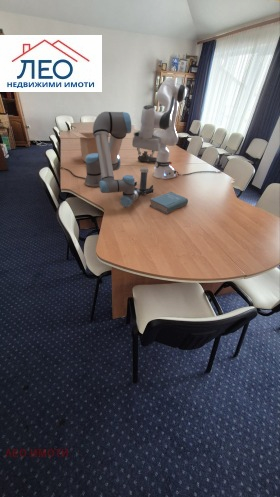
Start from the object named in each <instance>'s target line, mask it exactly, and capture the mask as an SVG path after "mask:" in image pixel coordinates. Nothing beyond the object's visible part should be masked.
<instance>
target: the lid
mask: <svg viewBox="0 0 280 497" xmlns="http://www.w3.org/2000/svg"><path fill="white" fill-rule="evenodd" d="M139 169H140V170H139V172H140V173H141V172H144V173H146V172H147V173H149V167H146V166H141V167H140V168H139Z"/></svg>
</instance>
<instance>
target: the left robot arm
mask: <svg viewBox="0 0 280 497" xmlns="http://www.w3.org/2000/svg"><path fill="white" fill-rule="evenodd" d="M92 130H93V135H94V138H96V144H97V150H98V153H92V154H89V155H87V156H86V162H85V168H86V169H85V170H86V177H84V176H83V177H82V176H78V175H75V174H74V173H73V172H72V171H71V170H70V169H68V168H66V167H64V166H63V167H62V166H61V167H60V169H61V170H62V169H64V170H66V171H69V173H70V174H71V175H72V176H73V177H75V178H79V179H83V180H84V185H85V186H87V187H90V188H99V191H100V193H101V194H112V193H122V196H121V198H120V200H119V202H120V206H122V207H123V208H129V207H130V206H132V205H133V204H134V203H135V202H136V200H137V199H139V198H140V197H141V196H142V195H141V194H144V195H143V196H144V197H145V196H148V195H151V194H152V193H154V184H152V185H151V186H150V187H148V188H146V189H140V188H138V187H136V186H137V185H138V184H137V183H138V182H137V181H135V177H134V175H131V174H125V175H123V176H122V179H115V175H114V174H115V173H114V172H115V171H119V169H121V168H120V167H121V157H120V155H119V153H120V150H121V146H122V143H123V139H125V138H126V137H127V134H131V133H132V118H131V115H130V114H129V113H128V112H125V111H102V112H101V113H99V114H98V115H97V116H96V118H95V119H94V122H93V126H92ZM109 135H110V137H109Z"/></svg>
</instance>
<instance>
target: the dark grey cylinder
mask: <svg viewBox="0 0 280 497" xmlns="http://www.w3.org/2000/svg"><path fill="white" fill-rule="evenodd" d="M147 182H148V172H146V173H144V172H141V171H140V181H139V189H147ZM140 196H144V194H141V195H140Z"/></svg>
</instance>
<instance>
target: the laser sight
mask: <svg viewBox="0 0 280 497" xmlns="http://www.w3.org/2000/svg"><path fill="white" fill-rule="evenodd" d="M156 159H157V156H156V157H154V156H153V157H150V155H149V154H148V150H145V151H143V152H141V155H138V157H137V161H138V162H141V163H149V164H151V163H153V164H156Z"/></svg>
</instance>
